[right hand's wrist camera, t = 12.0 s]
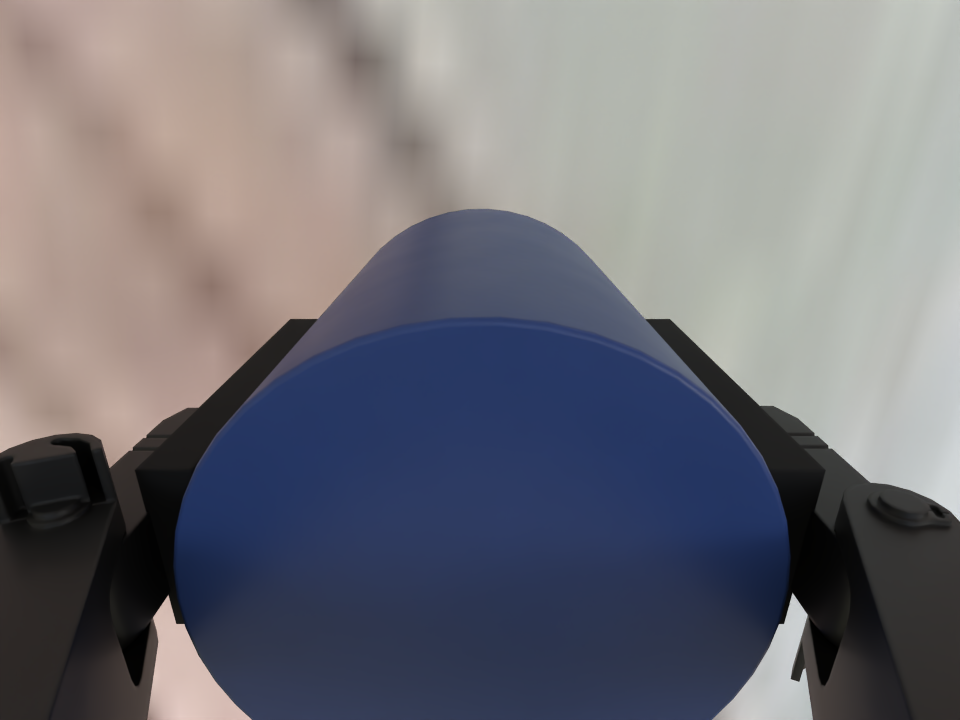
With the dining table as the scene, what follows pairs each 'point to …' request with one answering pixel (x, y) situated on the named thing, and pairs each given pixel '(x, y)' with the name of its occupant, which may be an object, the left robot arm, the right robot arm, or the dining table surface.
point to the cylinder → (481, 504)
